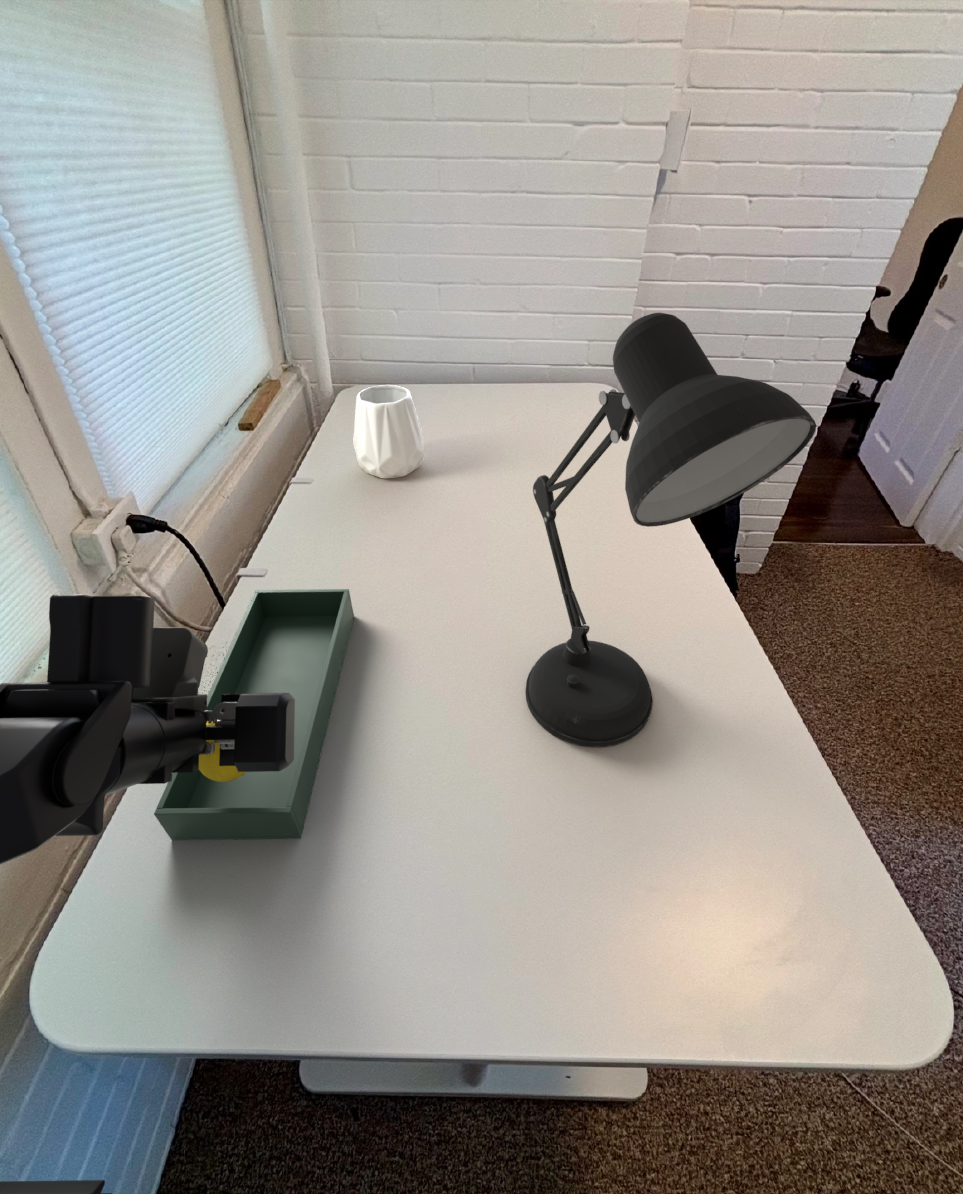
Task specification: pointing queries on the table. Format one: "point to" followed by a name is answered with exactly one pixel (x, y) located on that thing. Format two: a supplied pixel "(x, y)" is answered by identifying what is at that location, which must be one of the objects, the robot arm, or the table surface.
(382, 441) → the vase
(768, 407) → the desk lamp
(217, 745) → the lemon
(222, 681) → the green rectangular tray
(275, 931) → the table surface
